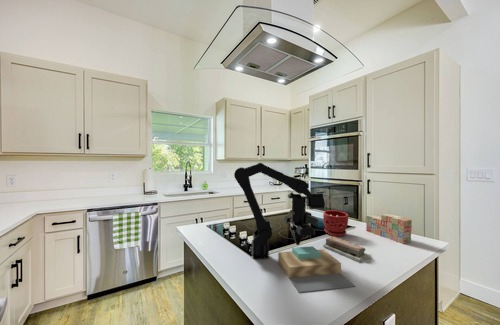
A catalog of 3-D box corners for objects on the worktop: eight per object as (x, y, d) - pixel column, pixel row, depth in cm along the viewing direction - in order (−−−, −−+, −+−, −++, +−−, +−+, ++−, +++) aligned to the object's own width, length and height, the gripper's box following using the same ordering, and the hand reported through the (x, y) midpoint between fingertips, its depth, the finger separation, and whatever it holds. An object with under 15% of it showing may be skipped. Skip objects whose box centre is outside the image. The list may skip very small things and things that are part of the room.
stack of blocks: (365, 231, 128) (366, 210, 128) (372, 229, 131) (373, 209, 130) (403, 244, 109) (404, 220, 108) (411, 242, 111) (412, 219, 111)
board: (289, 278, 75) (289, 267, 75) (278, 262, 87) (278, 252, 87) (340, 273, 79) (341, 263, 79) (323, 258, 91) (323, 249, 90)
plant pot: (318, 230, 127) (319, 210, 127) (339, 229, 129) (340, 210, 129) (329, 238, 114) (330, 216, 114) (352, 238, 116) (353, 215, 116)
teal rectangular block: (298, 259, 81) (298, 254, 81) (292, 252, 87) (292, 247, 87) (320, 257, 83) (320, 252, 83) (312, 251, 88) (312, 246, 88)
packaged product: (322, 237, 103) (335, 234, 108) (322, 248, 103) (335, 243, 108) (359, 252, 88) (371, 246, 93) (358, 263, 88) (371, 258, 93)
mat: (299, 292, 67) (299, 291, 67) (289, 278, 75) (289, 277, 75) (355, 286, 71) (355, 285, 71) (340, 273, 79) (340, 273, 79)
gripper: (327, 213, 84) (326, 253, 85) (306, 203, 103) (305, 236, 103) (301, 214, 82) (300, 254, 82) (284, 204, 100) (283, 237, 101)
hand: (297, 244), depth 92 cm, fingers closed
